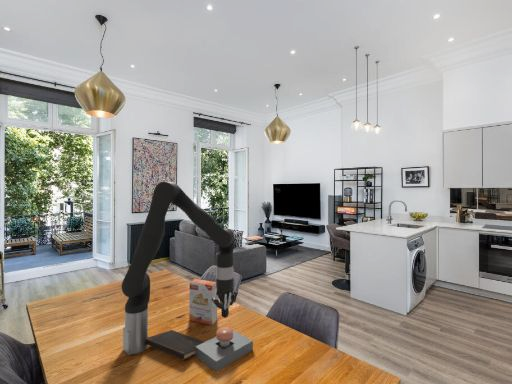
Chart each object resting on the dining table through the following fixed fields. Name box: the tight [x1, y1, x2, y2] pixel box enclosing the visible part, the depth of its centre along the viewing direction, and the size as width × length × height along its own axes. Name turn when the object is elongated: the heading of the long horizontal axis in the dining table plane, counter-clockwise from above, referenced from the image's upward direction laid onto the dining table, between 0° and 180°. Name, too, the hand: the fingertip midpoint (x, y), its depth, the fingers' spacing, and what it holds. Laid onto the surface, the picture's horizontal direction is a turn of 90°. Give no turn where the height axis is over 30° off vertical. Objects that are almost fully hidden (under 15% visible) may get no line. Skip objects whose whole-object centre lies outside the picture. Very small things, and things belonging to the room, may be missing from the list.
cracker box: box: [188, 278, 218, 326], centre depth 145 cm, size 14×6×21 cm, turn 69°
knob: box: [216, 326, 234, 349], centre depth 117 cm, size 7×7×6 cm
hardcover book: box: [146, 329, 205, 361], centre depth 120 cm, size 16×23×2 cm
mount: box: [194, 329, 254, 373], centre depth 117 cm, size 20×14×4 cm
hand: (225, 316), depth 116 cm, fingers closed
